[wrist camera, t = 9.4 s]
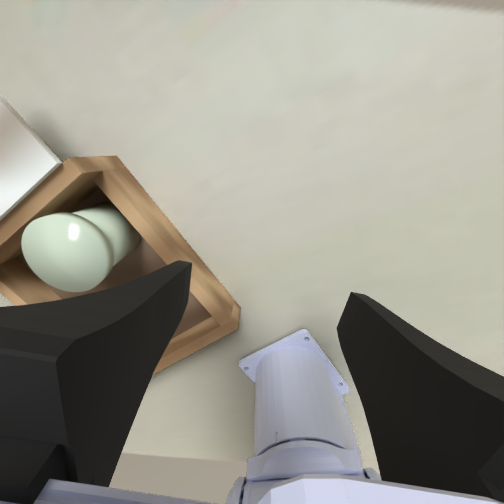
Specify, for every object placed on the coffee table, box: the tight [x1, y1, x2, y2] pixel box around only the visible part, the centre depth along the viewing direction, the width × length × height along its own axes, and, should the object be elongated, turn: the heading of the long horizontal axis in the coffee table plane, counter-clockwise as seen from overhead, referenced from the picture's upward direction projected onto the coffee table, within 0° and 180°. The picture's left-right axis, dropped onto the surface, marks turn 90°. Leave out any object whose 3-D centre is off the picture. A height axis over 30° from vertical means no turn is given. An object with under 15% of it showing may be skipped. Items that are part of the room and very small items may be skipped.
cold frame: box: [0, 94, 240, 374], centre depth 19 cm, size 24×14×5 cm, turn 34°
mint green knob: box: [21, 203, 141, 292], centre depth 18 cm, size 5×5×6 cm
